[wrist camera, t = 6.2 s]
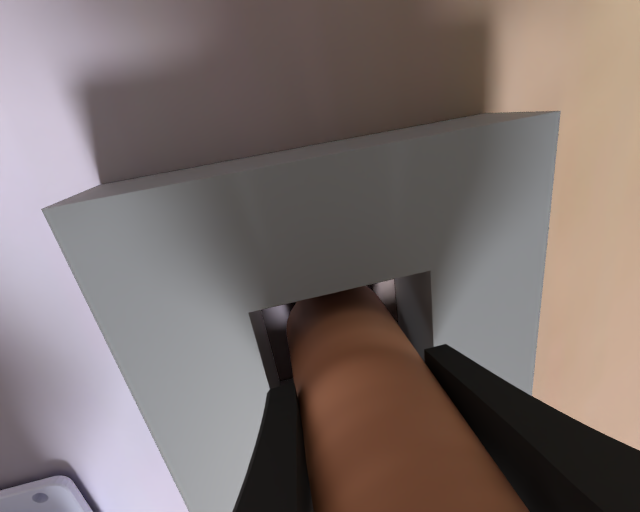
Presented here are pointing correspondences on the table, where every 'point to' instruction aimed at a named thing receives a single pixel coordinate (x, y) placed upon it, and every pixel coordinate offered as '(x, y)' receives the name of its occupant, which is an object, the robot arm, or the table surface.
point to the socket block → (309, 268)
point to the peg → (382, 417)
